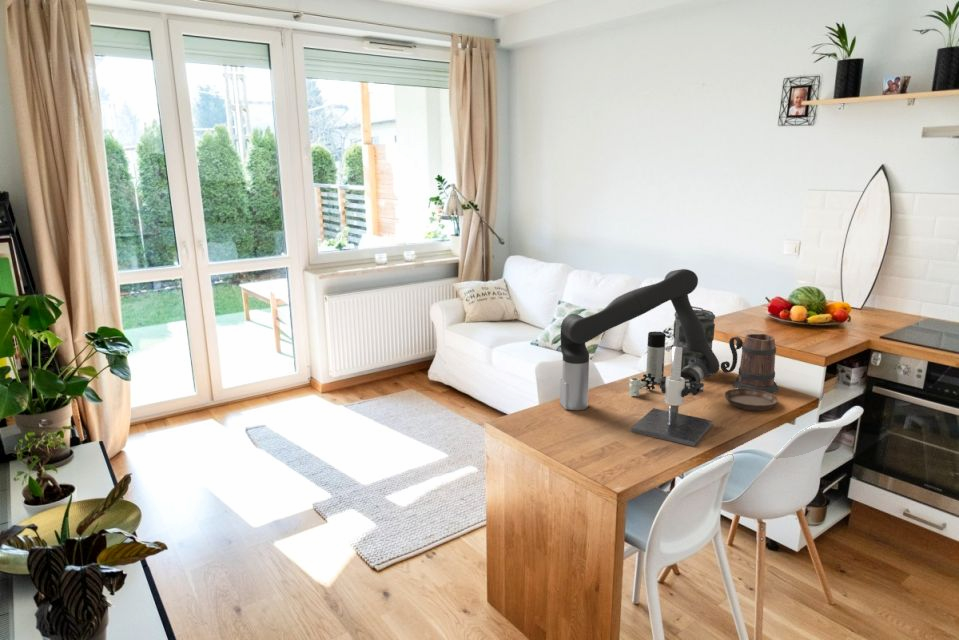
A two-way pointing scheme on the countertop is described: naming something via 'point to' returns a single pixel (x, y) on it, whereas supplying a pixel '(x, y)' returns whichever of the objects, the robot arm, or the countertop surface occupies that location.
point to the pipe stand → (673, 416)
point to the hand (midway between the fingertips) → (672, 392)
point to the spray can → (655, 355)
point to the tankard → (754, 363)
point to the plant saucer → (751, 399)
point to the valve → (640, 384)
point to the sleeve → (674, 391)
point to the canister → (679, 338)
